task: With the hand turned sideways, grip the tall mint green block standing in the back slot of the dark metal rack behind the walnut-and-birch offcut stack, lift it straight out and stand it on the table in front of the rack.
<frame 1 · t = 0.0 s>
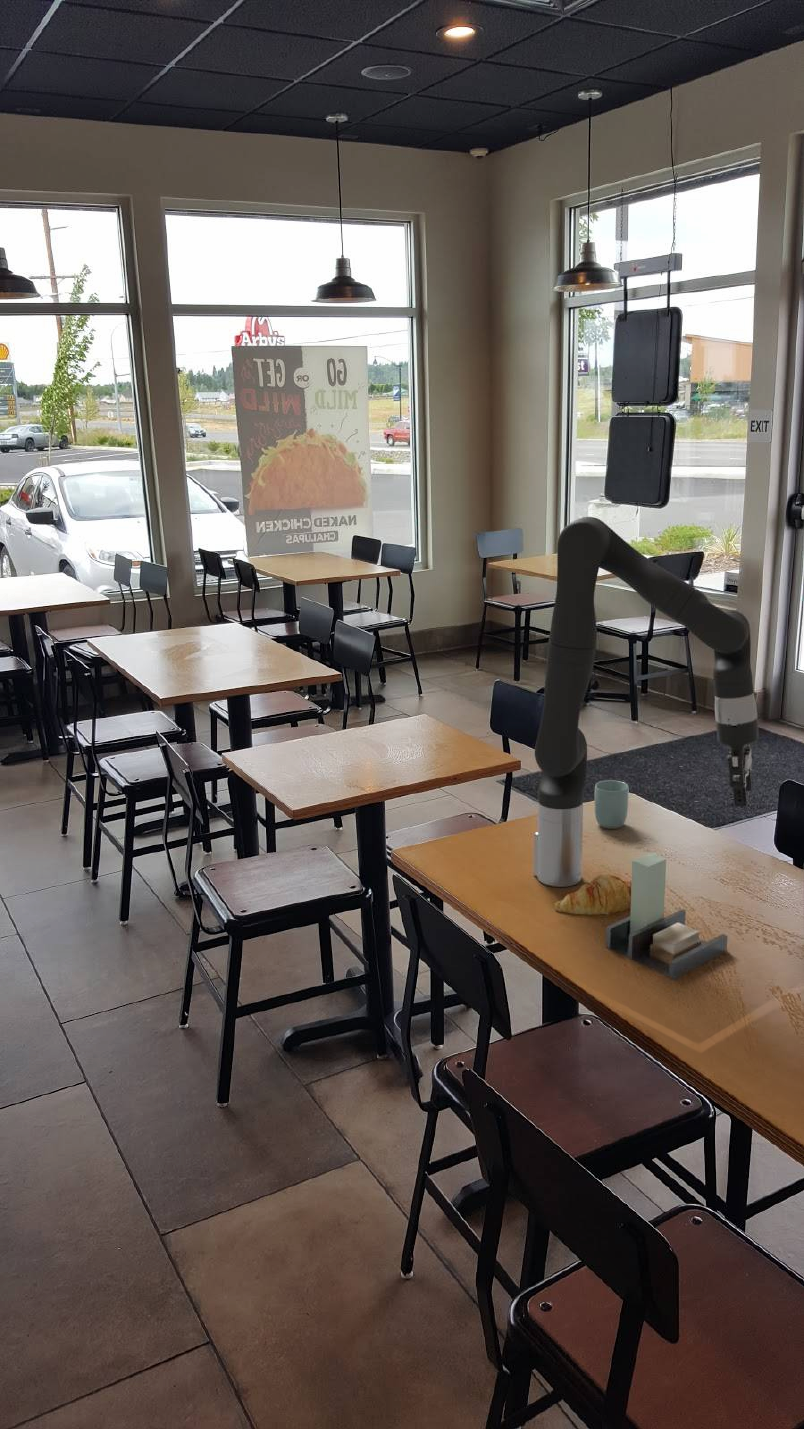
hand: (743, 798, 207), 22 cm above the table, tool pointing down, fingers open, 8 cm apart
cup: (610, 826, 254), on the table
rack: (663, 952, 196), on the table
tall mint green block: (646, 939, 199), point 1 cm above the table, touching rack
offcut lower: (675, 953, 194), point 1 cm above the table, touching offcut upper, rack
croissant: (604, 908, 214), on the table
offcut upper: (675, 943, 193), point 3 cm above the table, touching offcut lower
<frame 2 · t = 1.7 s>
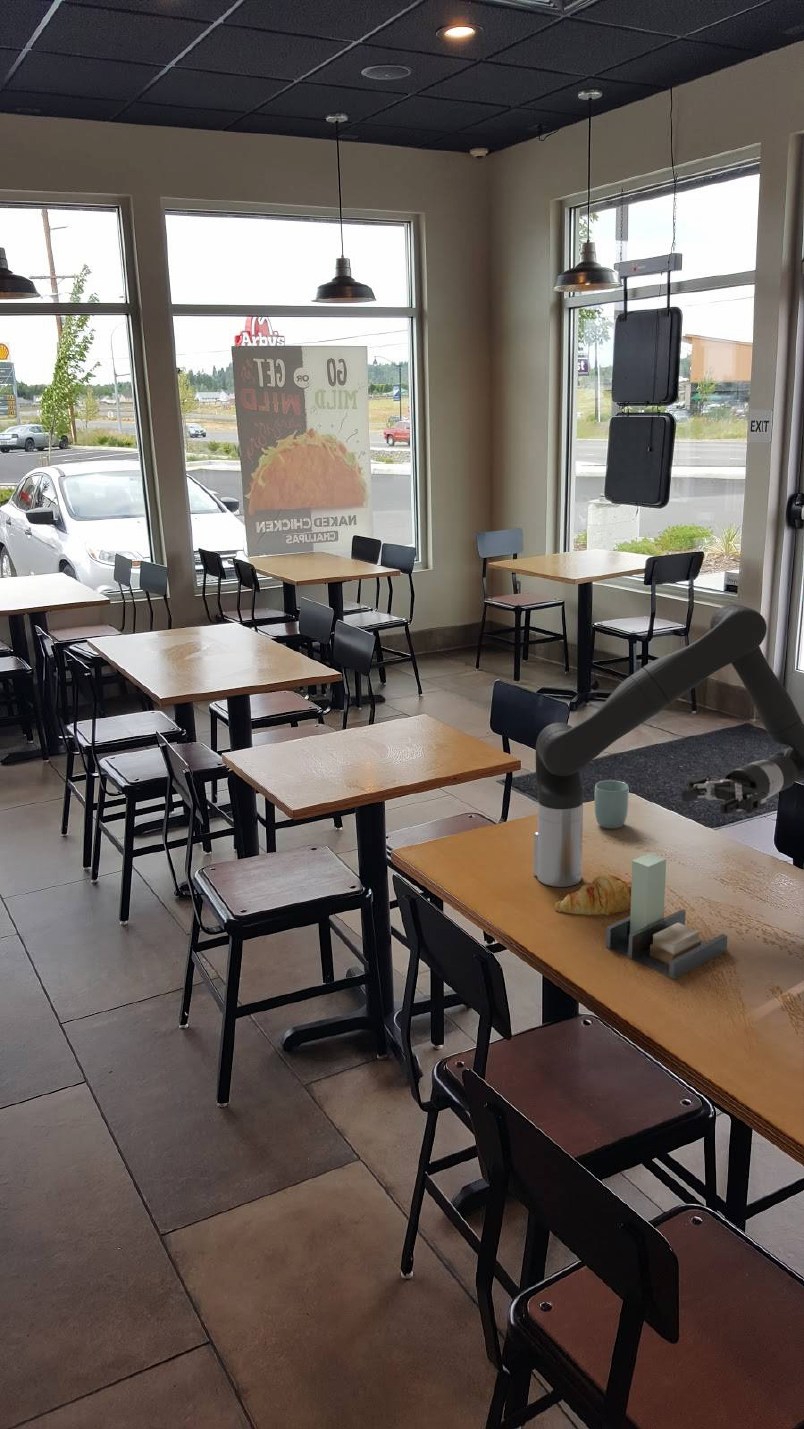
hand: (702, 803, 201), 24 cm above the table, tool horizontal, fingers open, 8 cm apart
nothing on the table moved.
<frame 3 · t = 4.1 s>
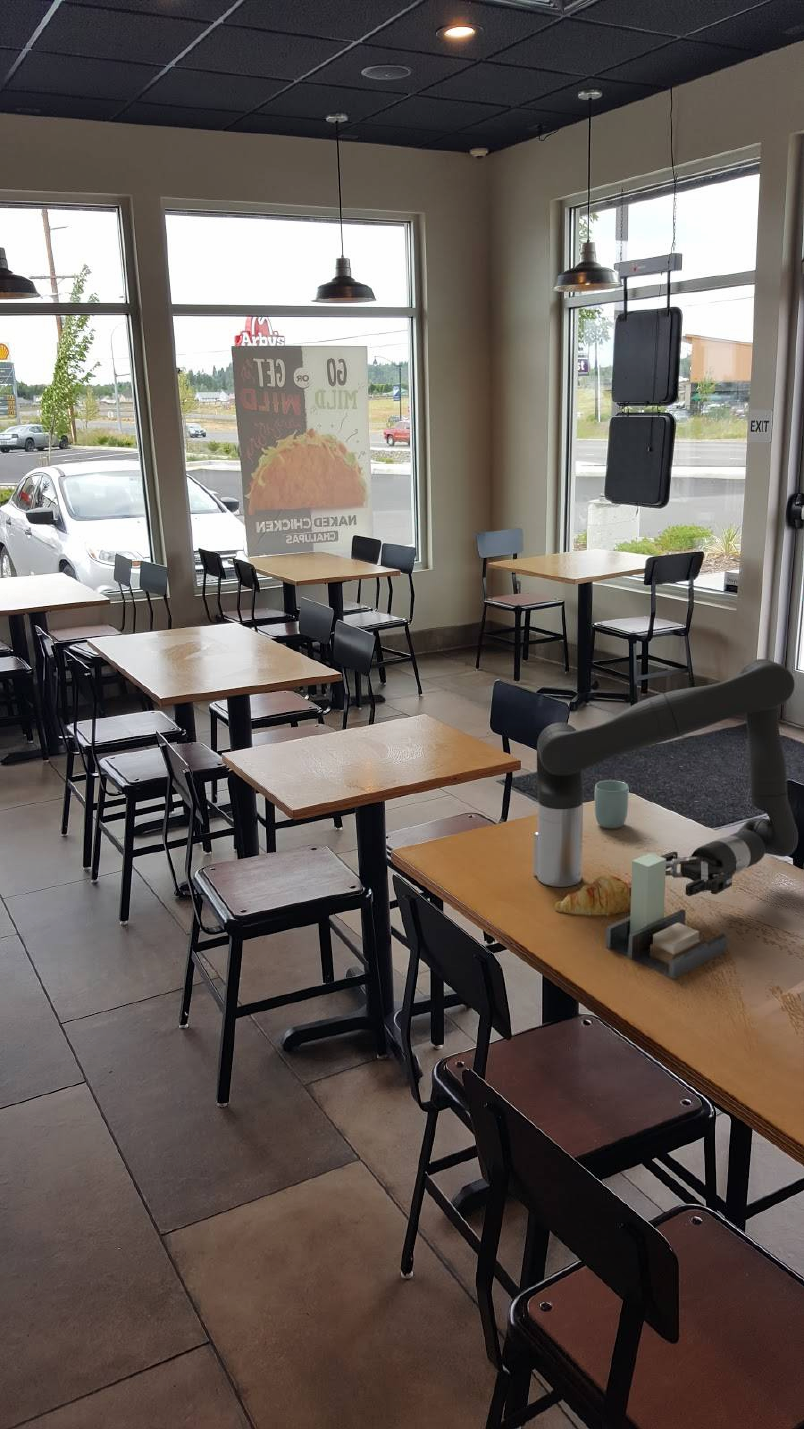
hand: (668, 883, 199), 11 cm above the table, tool horizontal, fingers open, 8 cm apart
nothing on the table moved.
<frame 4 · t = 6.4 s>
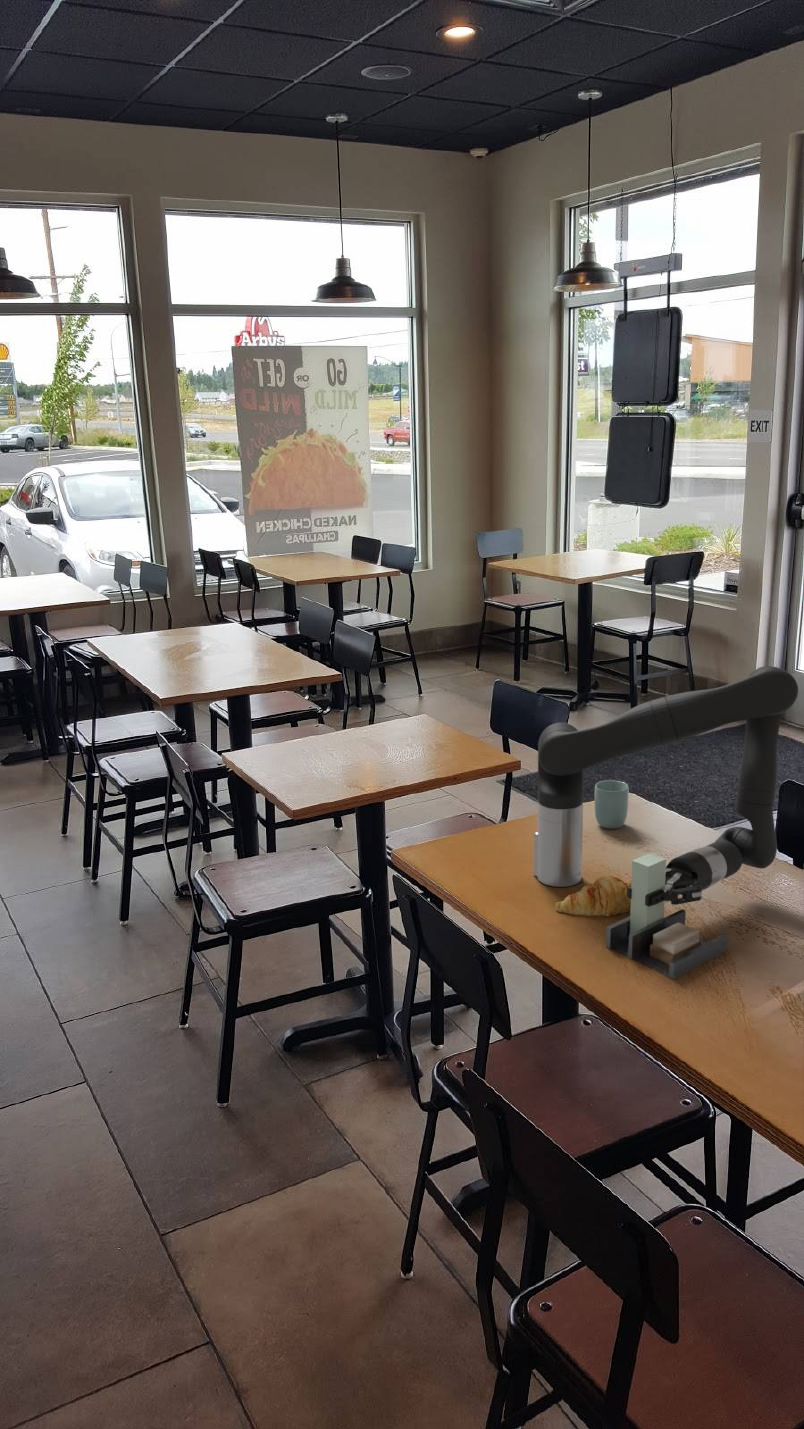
hand: (638, 897, 194), 10 cm above the table, tool horizontal, fingers closed on tall mint green block, 3 cm apart
tall mint green block: (646, 939, 199), point 1 cm above the table, touching gripper, rack
everything else where it was.
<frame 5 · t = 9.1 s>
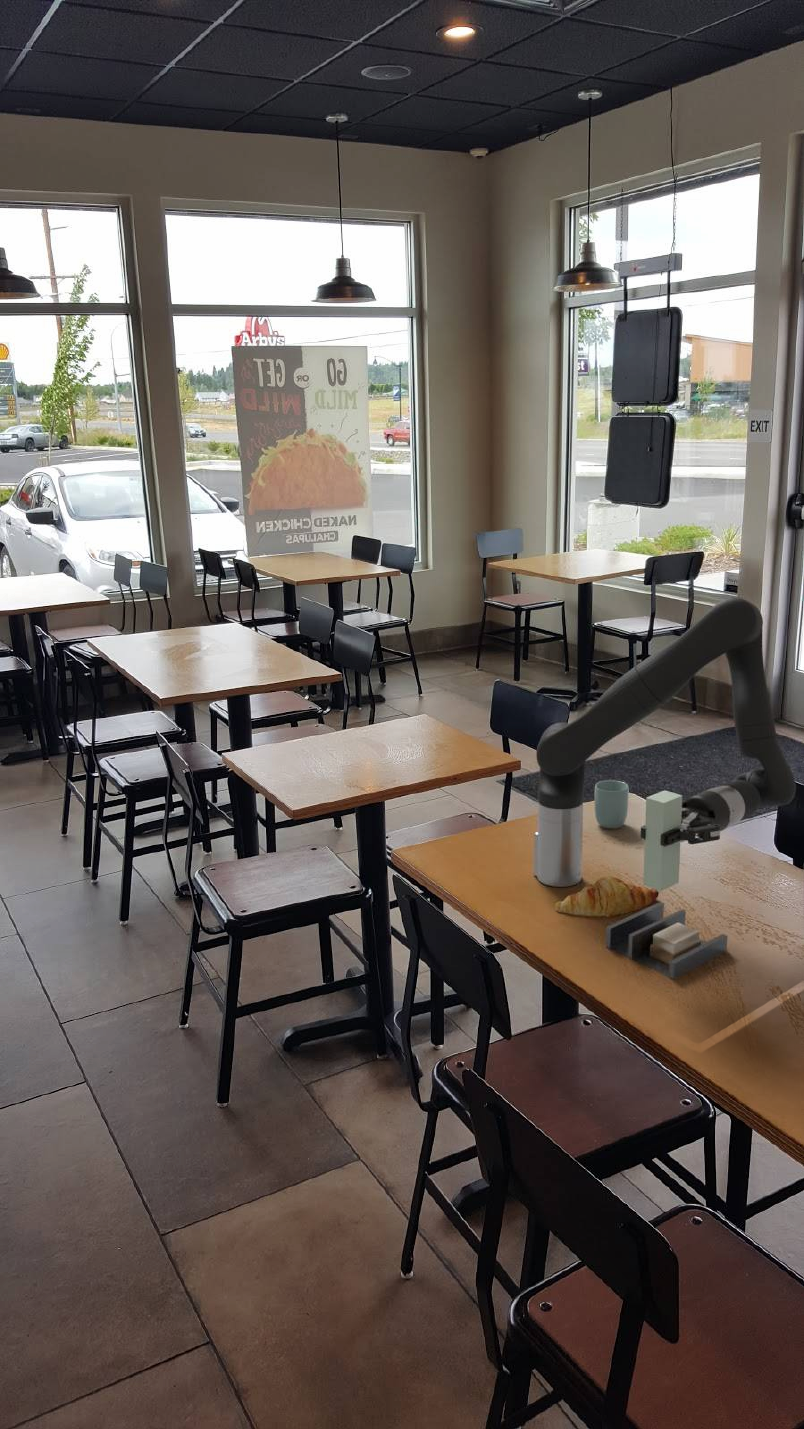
hand: (652, 837, 181), 26 cm above the table, tool horizontal, fingers closed on tall mint green block, 3 cm apart
tall mint green block: (661, 883, 185), point 17 cm above the table, touching gripper
when the fingers open (12 cm above the table, at t = 12.2 s): tall mint green block drops 3 cm, on the table.
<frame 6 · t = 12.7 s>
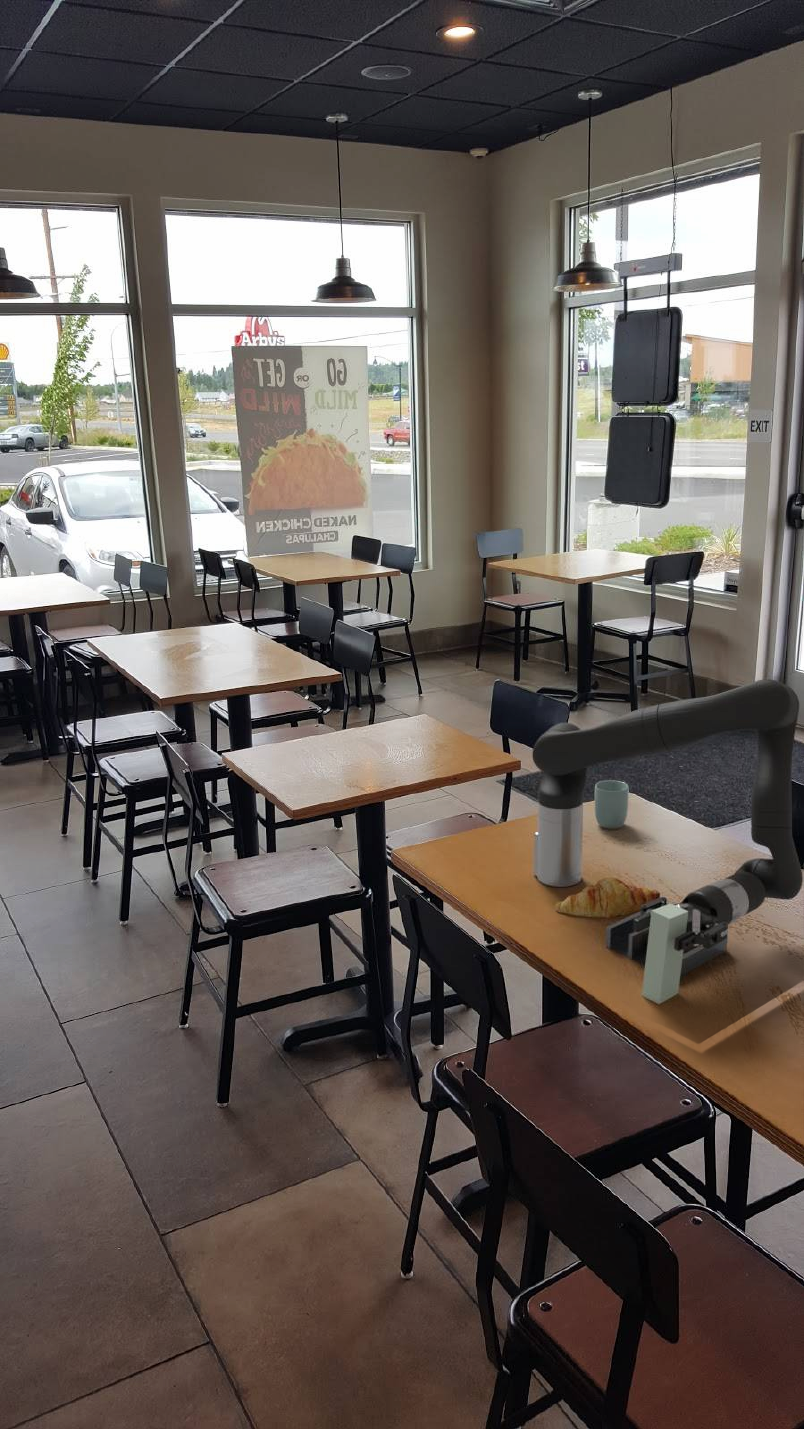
hand: (655, 935, 176), 12 cm above the table, tool horizontal, fingers open, 8 cm apart
tall mint green block: (659, 998, 181), on the table
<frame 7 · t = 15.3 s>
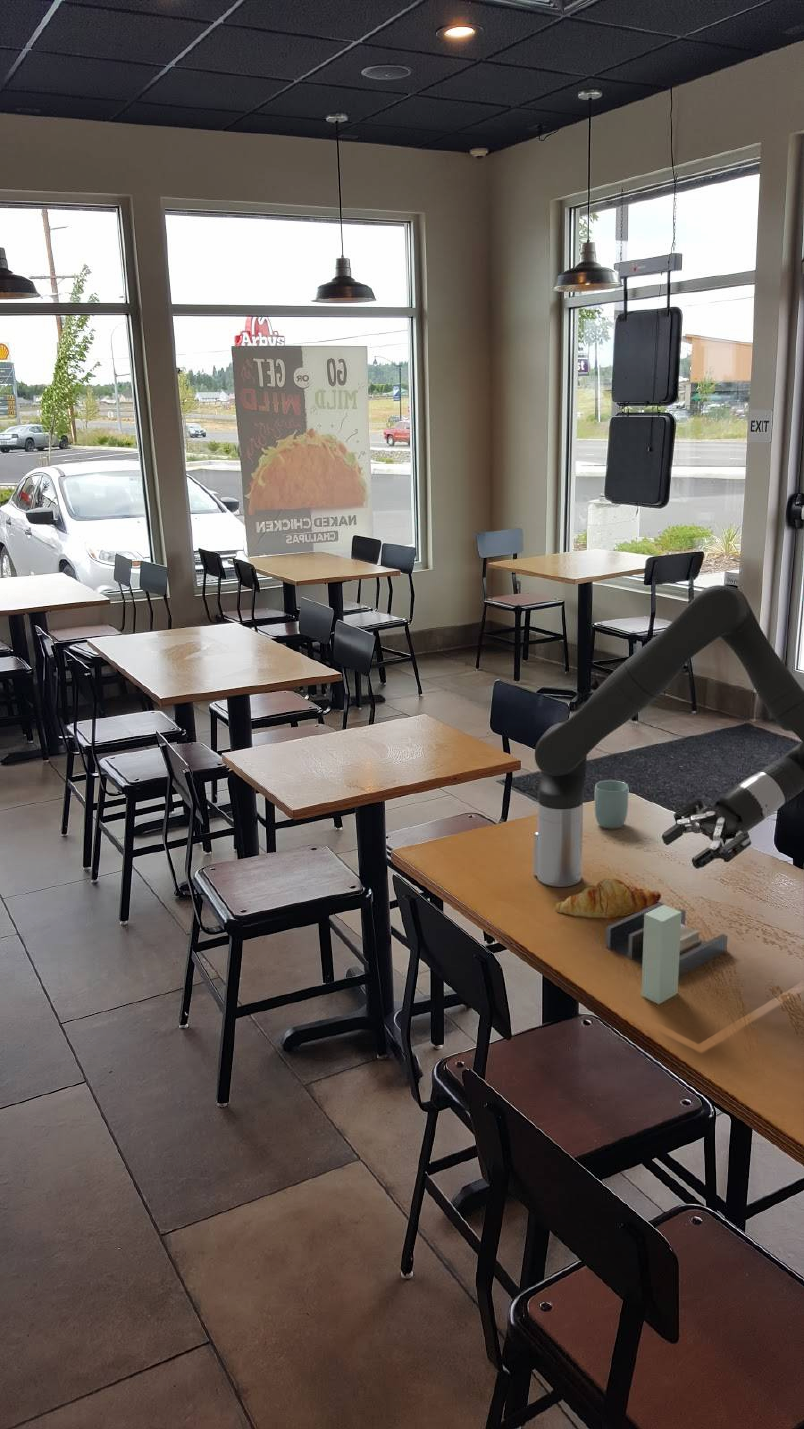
hand: (678, 852, 188), 21 cm above the table, tool tilted 65°, fingers open, 8 cm apart
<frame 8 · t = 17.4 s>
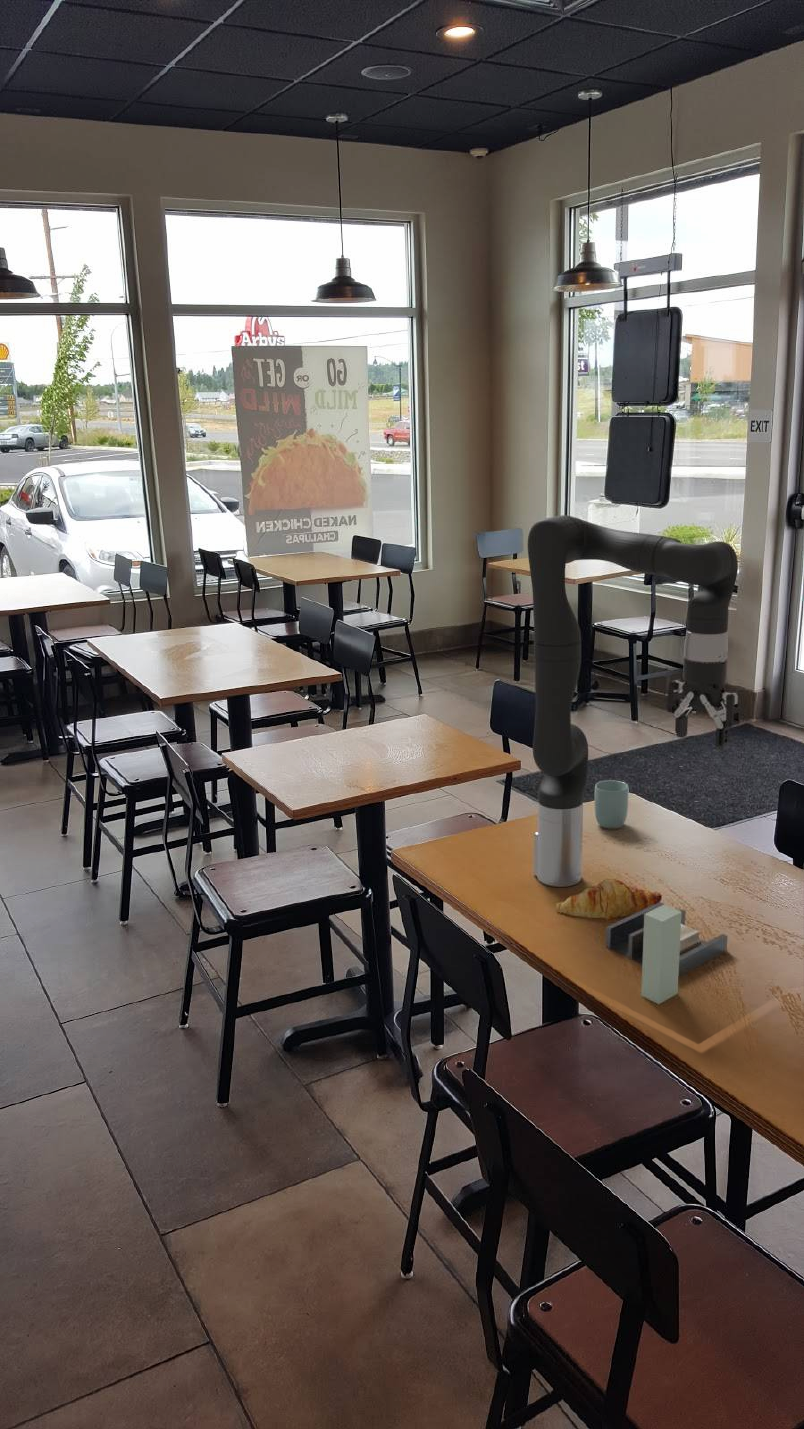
hand: (701, 741, 197), 36 cm above the table, tool pointing down, fingers open, 8 cm apart
at the end: tall mint green block inside the target area (0.2 cm from its centre), on the table; tall mint green block tilted 0°; offcut upper moved 0.1 cm from its start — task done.
